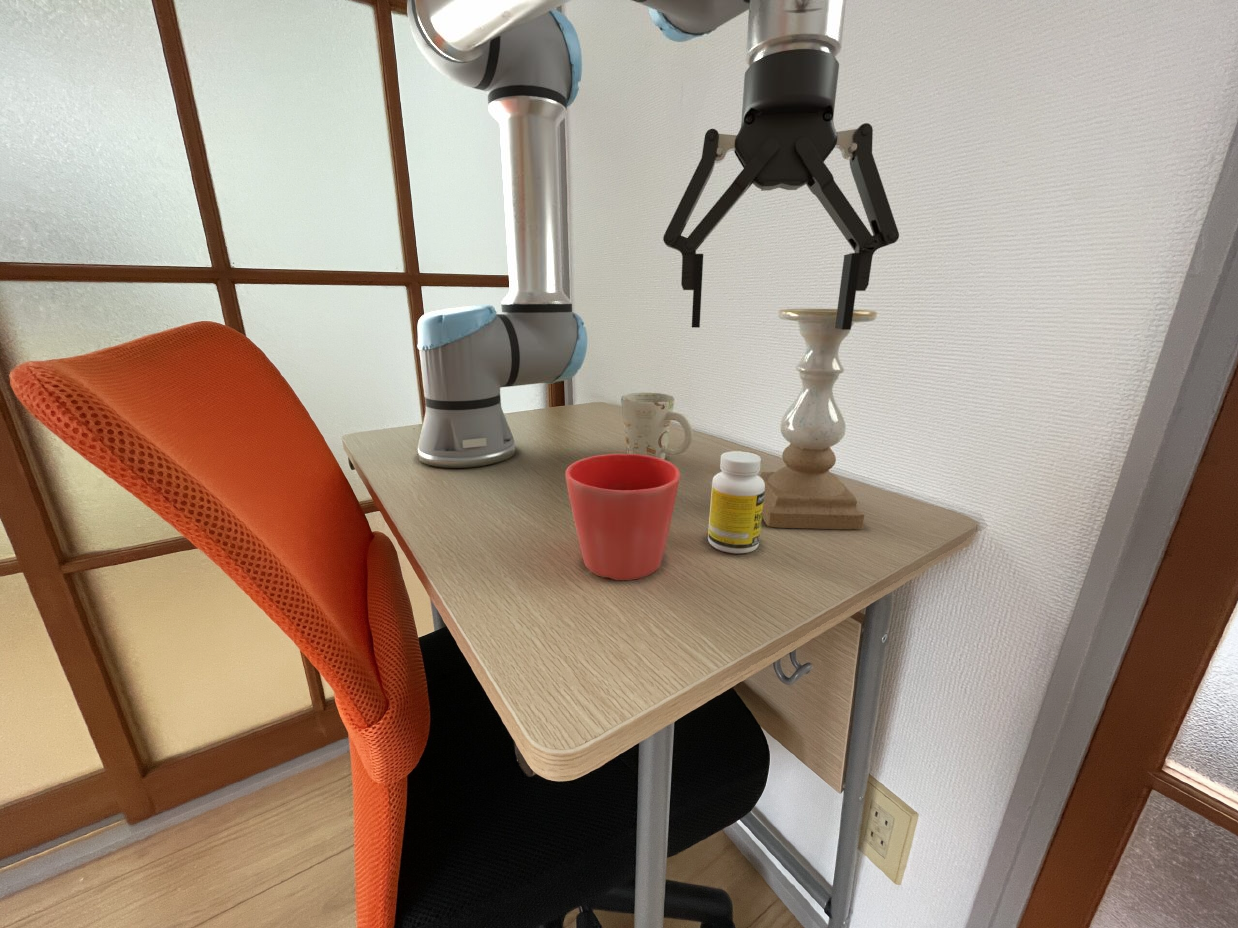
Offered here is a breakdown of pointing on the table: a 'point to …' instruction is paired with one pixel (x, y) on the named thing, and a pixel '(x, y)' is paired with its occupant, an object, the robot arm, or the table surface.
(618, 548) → the flower pot
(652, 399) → the mug
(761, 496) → the supplement bottle
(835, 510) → the candle holder
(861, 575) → the table surface
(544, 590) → the table surface
